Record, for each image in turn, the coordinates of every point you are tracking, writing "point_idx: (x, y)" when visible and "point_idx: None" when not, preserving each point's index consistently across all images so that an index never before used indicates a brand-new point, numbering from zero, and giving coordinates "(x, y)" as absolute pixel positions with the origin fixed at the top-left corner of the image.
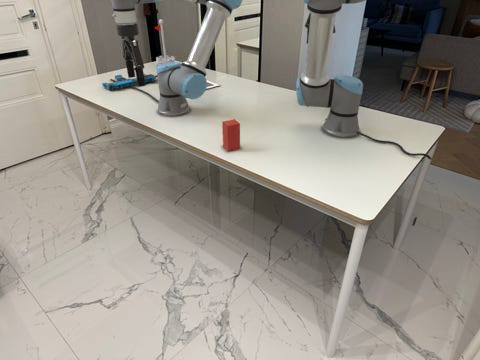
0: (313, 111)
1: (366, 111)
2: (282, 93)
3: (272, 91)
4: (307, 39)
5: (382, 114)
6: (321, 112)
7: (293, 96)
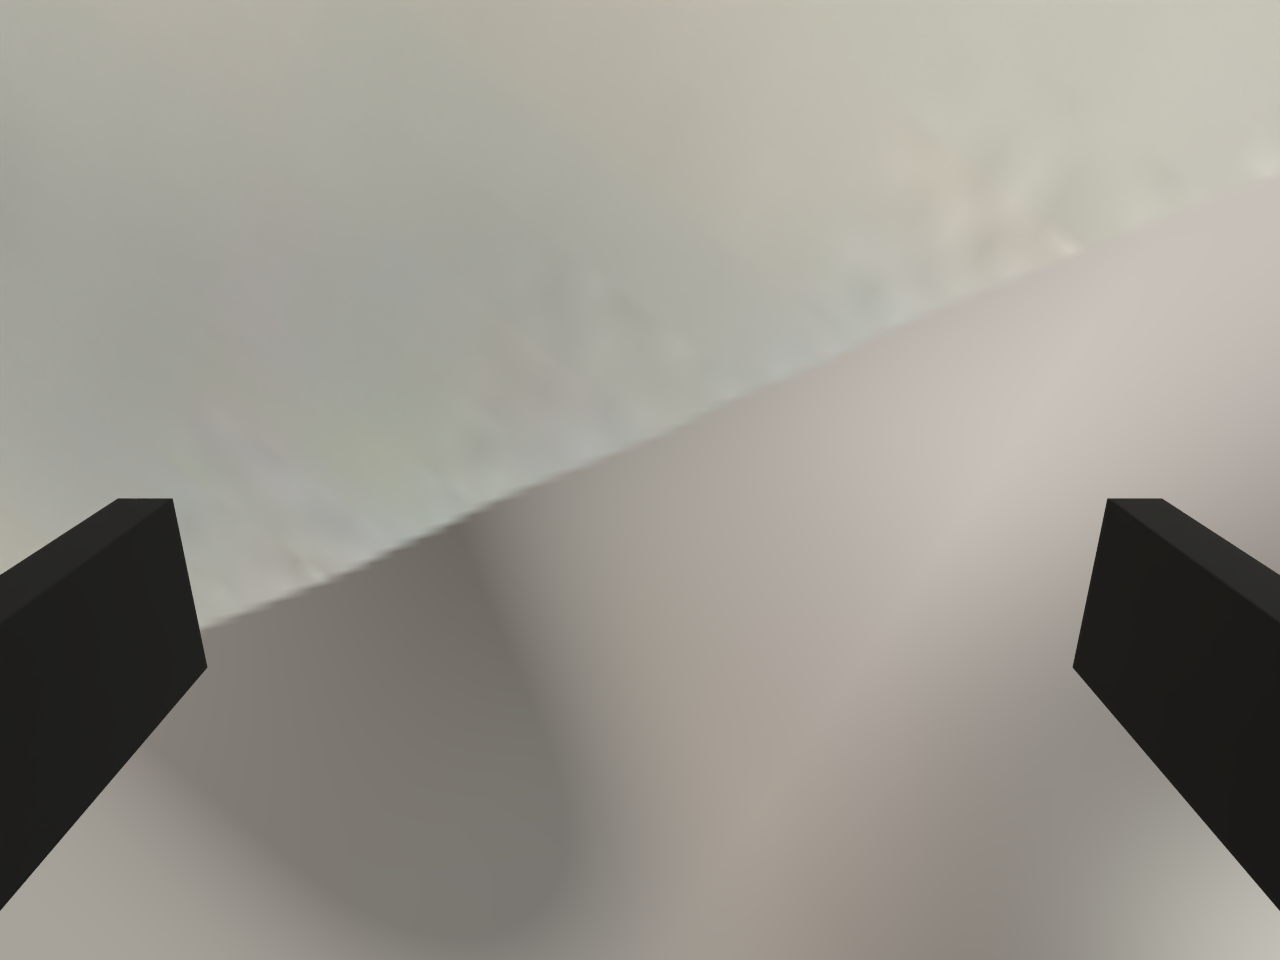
0: (315, 84)
1: None
2: (1035, 111)
3: (1186, 25)
4: (1214, 559)
5: None
6: (256, 155)
7: (861, 180)
